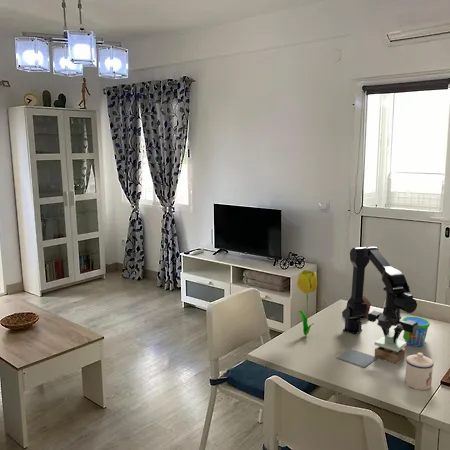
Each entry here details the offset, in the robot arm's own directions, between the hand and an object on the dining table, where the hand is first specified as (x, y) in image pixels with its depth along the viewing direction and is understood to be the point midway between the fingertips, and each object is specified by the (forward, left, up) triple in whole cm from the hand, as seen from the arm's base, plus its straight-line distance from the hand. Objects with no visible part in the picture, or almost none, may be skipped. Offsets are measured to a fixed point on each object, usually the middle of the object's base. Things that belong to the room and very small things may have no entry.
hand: (390, 341), depth 184 cm
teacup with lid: (+16, -12, -7) cm, 21 cm away
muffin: (-31, +33, -7) cm, 46 cm away
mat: (-9, -10, -7) cm, 15 cm away
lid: (0, 0, -1) cm, 1 cm away
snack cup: (+2, +20, -7) cm, 21 cm away
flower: (-36, -6, -7) cm, 37 cm away
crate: (0, 0, -7) cm, 7 cm away
